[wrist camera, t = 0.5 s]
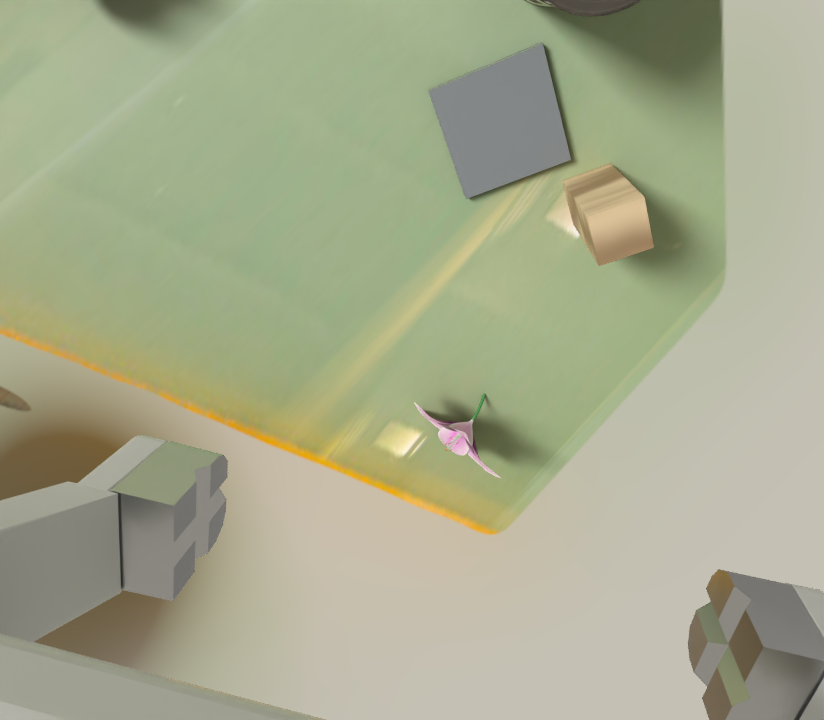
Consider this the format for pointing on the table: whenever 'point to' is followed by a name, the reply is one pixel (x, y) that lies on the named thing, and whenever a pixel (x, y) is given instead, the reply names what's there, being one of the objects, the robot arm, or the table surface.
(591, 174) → the oak block
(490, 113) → the slate coaster
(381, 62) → the table surface
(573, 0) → the coffee can
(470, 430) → the lily
